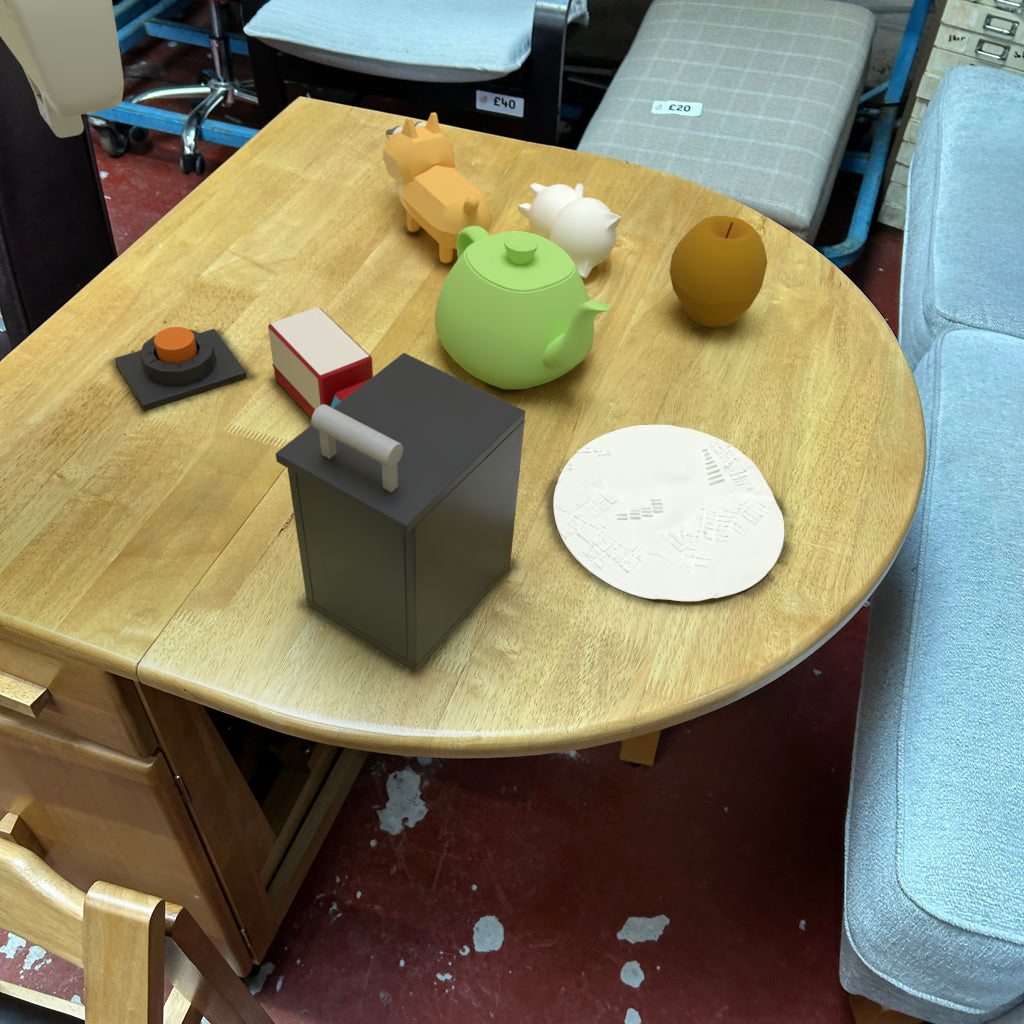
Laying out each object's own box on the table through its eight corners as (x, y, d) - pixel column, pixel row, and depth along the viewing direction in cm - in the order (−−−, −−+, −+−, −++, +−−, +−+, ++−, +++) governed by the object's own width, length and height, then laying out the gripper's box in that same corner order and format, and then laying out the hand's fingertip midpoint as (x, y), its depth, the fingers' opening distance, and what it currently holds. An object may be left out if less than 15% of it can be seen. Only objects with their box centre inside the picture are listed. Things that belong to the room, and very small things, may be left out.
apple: (643, 315, 103) (662, 217, 95) (695, 283, 109) (718, 187, 100) (716, 357, 99) (743, 257, 91) (767, 321, 104) (797, 224, 96)
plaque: (658, 404, 92) (660, 393, 91) (828, 525, 83) (833, 513, 82) (505, 506, 83) (505, 494, 82) (678, 654, 74) (681, 643, 73)
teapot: (646, 394, 94) (671, 279, 85) (526, 450, 87) (538, 333, 78) (512, 286, 106) (520, 175, 96) (397, 329, 99) (394, 213, 89)
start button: (165, 369, 89) (161, 353, 87) (152, 348, 91) (148, 333, 89) (202, 357, 90) (199, 342, 89) (188, 337, 92) (185, 322, 91)
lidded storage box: (416, 672, 70) (414, 527, 59) (306, 604, 74) (284, 455, 62) (510, 566, 78) (525, 419, 66) (406, 510, 81) (403, 361, 70)
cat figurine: (537, 156, 107) (603, 201, 100) (594, 187, 115) (659, 230, 108) (499, 227, 110) (561, 275, 103) (558, 252, 118) (618, 298, 111)
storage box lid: (406, 534, 58) (405, 481, 55) (276, 462, 62) (267, 407, 58) (525, 419, 66) (530, 366, 63) (403, 360, 70) (402, 308, 66)
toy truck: (356, 470, 84) (352, 412, 79) (274, 380, 92) (266, 322, 87) (408, 446, 87) (407, 389, 82) (324, 361, 94) (319, 304, 90)
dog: (421, 189, 119) (421, 84, 110) (508, 268, 108) (515, 159, 99) (364, 203, 116) (359, 96, 106) (448, 286, 105) (450, 175, 95)
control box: (144, 410, 88) (138, 389, 86) (115, 363, 92) (109, 342, 90) (247, 377, 92) (243, 356, 90) (215, 333, 96) (211, 313, 94)
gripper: (-116, -179, 54) (-31, 72, 64) (-27, -72, 42) (59, 212, 52) (2, -185, 56) (66, 57, 66) (115, -86, 45) (171, 187, 55)
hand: (63, 127), depth 59 cm, fingers closed
